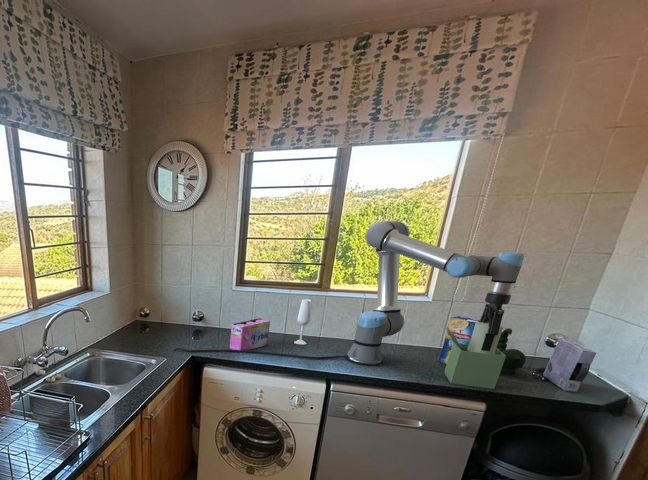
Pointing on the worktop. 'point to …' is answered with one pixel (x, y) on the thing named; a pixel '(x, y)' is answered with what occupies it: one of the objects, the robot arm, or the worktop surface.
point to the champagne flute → (304, 317)
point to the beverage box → (457, 334)
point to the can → (482, 338)
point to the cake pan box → (569, 365)
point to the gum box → (249, 334)
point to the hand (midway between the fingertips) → (481, 347)
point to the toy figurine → (510, 354)
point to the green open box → (473, 367)
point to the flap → (453, 338)
